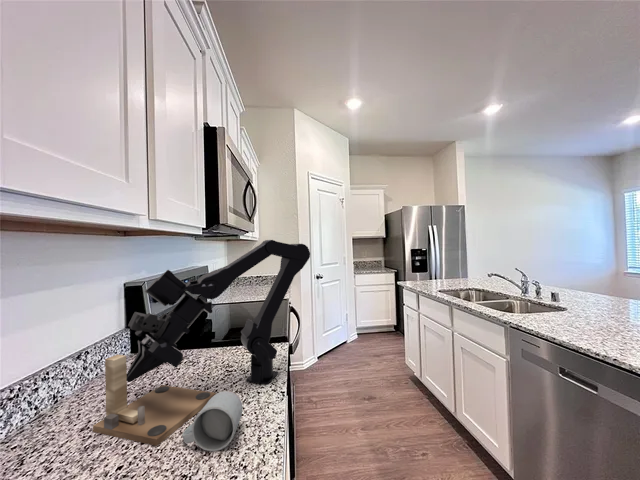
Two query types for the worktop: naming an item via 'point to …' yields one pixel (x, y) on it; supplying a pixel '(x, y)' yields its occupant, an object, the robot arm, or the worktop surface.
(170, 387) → the stool seat
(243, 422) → the worktop surface
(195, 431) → the ceramic mug
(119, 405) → the hinged leg
